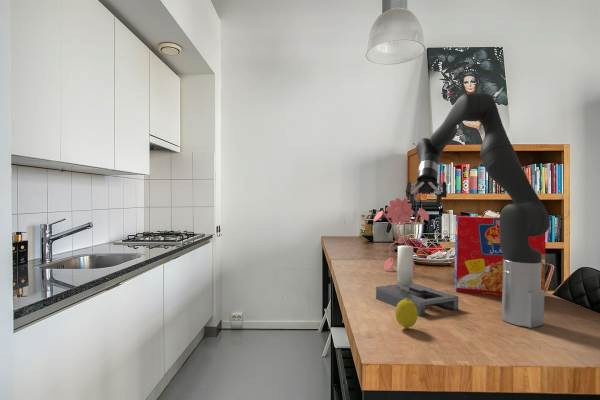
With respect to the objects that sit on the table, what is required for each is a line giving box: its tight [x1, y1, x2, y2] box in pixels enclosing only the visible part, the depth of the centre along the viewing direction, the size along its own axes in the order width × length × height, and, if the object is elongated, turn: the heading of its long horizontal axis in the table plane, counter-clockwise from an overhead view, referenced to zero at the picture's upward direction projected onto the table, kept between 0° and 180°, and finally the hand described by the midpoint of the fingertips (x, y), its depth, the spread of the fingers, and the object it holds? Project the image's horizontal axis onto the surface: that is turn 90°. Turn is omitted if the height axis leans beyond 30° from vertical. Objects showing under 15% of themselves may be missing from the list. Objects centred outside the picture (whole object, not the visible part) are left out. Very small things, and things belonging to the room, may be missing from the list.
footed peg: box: [396, 245, 414, 295], centre depth 120 cm, size 6×6×18 cm
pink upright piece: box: [373, 197, 430, 278], centre depth 164 cm, size 15×26×35 cm, turn 62°
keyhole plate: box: [375, 282, 459, 317], centre depth 116 cm, size 20×16×4 cm
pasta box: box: [453, 215, 547, 297], centre depth 131 cm, size 28×8×28 cm, turn 72°
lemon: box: [395, 298, 418, 330], centre depth 93 cm, size 6×6×8 cm
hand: (424, 203), depth 128 cm, fingers open, 8 cm apart
